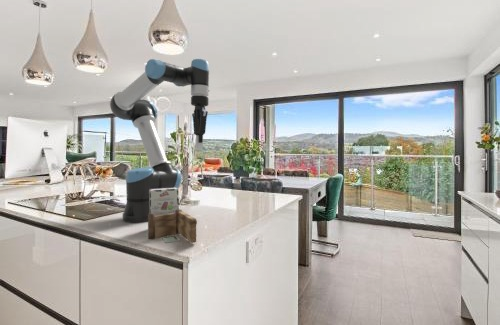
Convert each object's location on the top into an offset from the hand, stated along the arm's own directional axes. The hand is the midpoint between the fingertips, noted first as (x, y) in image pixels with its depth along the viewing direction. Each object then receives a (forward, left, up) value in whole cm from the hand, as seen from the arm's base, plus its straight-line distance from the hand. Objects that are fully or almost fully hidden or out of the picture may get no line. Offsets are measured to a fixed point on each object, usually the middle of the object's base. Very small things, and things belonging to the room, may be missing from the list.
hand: (199, 150), depth 124 cm
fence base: (+14, -18, -32) cm, 39 cm away
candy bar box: (+4, -16, -32) cm, 36 cm away
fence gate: (+22, -12, -31) cm, 40 cm away
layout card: (+19, -17, -32) cm, 41 cm away
